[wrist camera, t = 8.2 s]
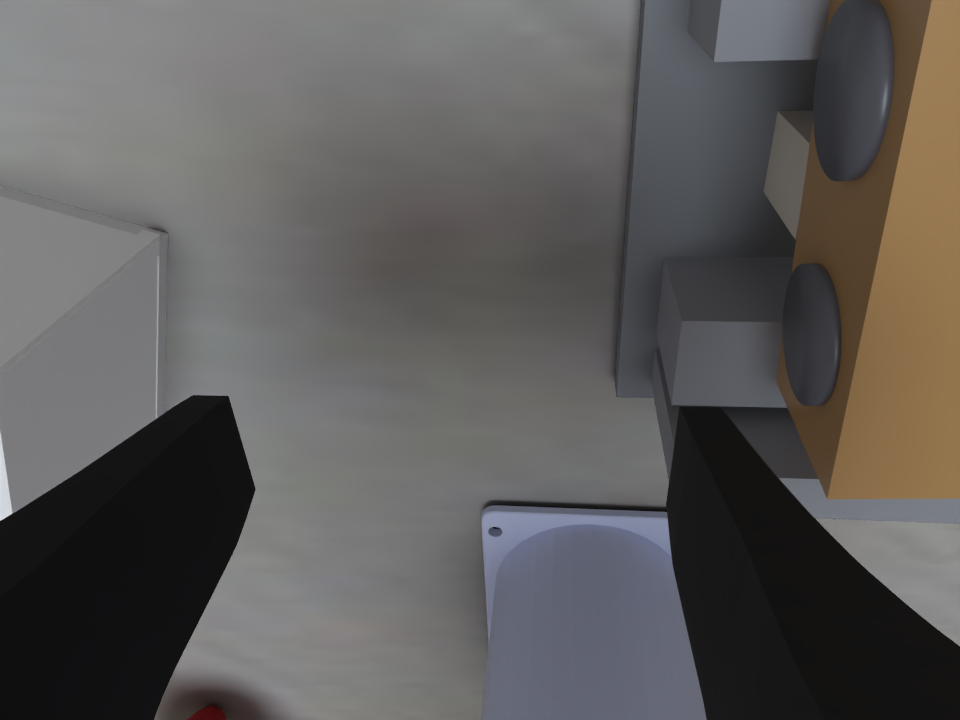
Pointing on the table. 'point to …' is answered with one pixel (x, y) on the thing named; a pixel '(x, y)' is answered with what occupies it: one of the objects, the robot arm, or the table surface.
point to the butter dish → (74, 340)
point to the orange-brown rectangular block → (880, 257)
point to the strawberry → (209, 714)
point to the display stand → (725, 227)
